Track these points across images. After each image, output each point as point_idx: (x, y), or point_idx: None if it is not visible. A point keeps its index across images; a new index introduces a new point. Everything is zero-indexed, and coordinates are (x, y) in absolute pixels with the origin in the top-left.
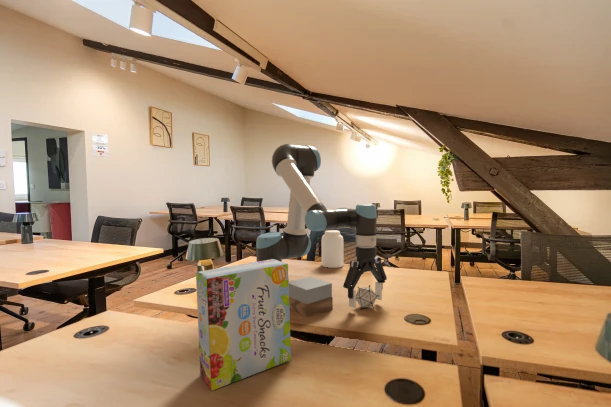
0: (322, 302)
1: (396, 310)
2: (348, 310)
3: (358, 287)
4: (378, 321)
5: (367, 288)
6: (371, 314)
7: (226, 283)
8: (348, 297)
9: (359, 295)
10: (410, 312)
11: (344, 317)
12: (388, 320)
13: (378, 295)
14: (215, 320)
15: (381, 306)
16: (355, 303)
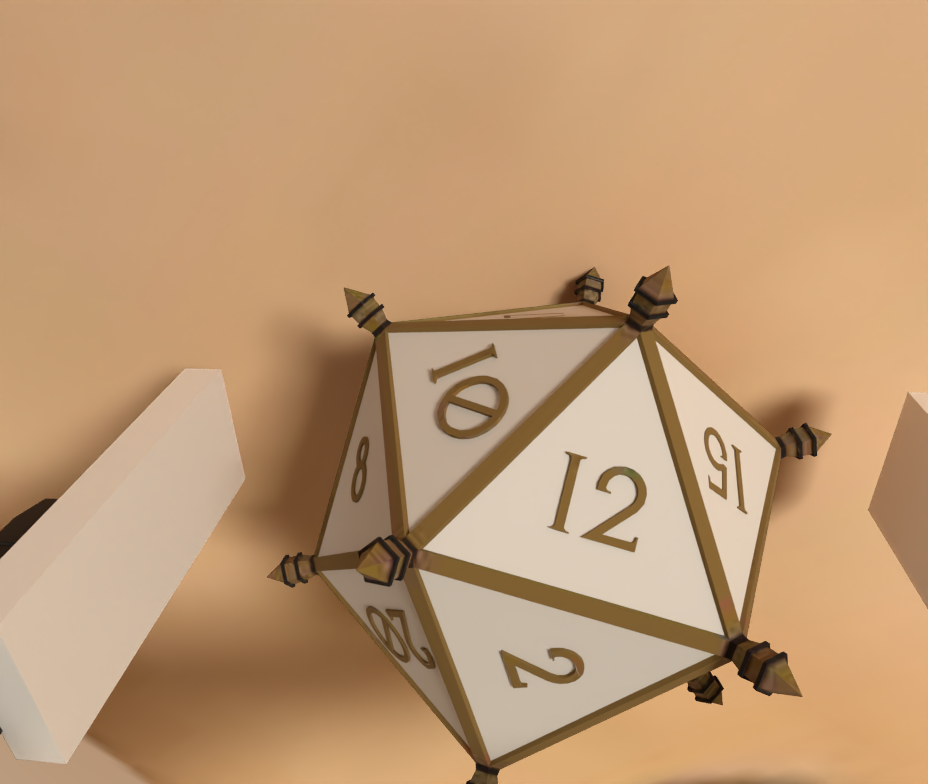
0: None
1: (794, 672)
2: (225, 311)
3: (374, 573)
4: (349, 703)
5: (577, 688)
6: None
7: None
8: (40, 511)
9: (329, 558)
10: (851, 772)
11: (49, 450)
12: (456, 740)
13: (707, 699)
14: None
15: (790, 496)
16: (210, 525)
